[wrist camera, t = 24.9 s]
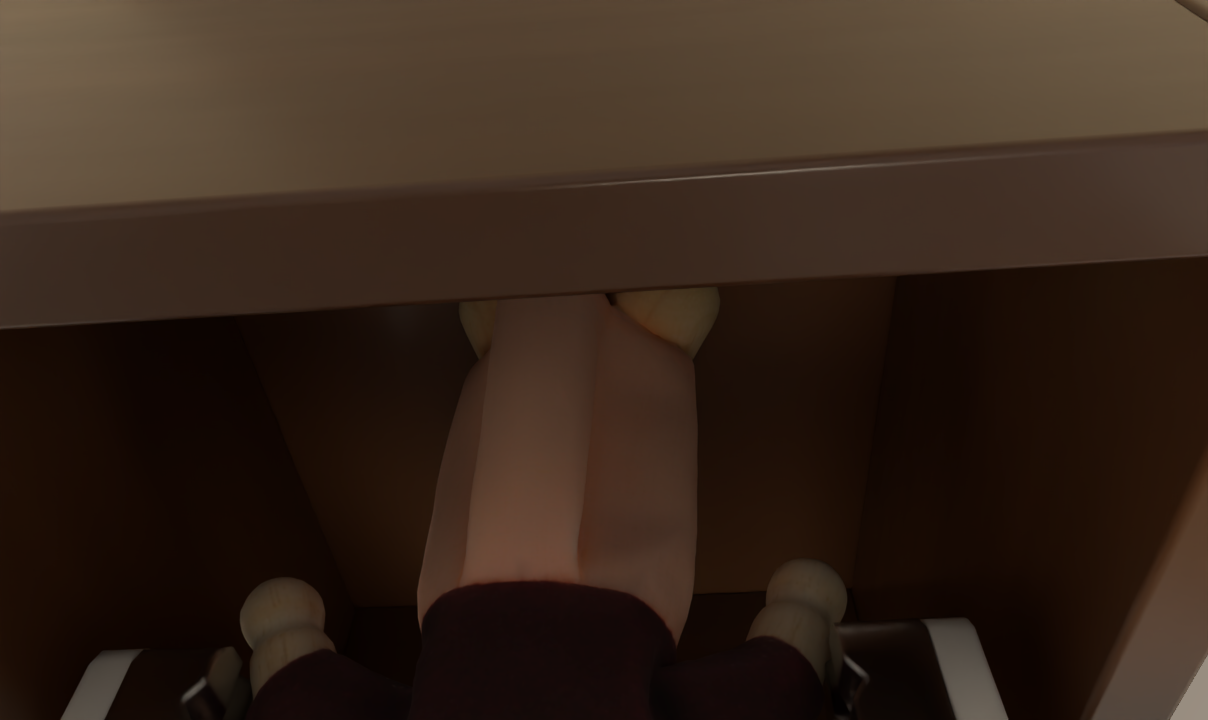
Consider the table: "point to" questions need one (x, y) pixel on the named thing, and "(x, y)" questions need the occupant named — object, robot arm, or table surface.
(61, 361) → the chest
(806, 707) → the grandmother figurine
